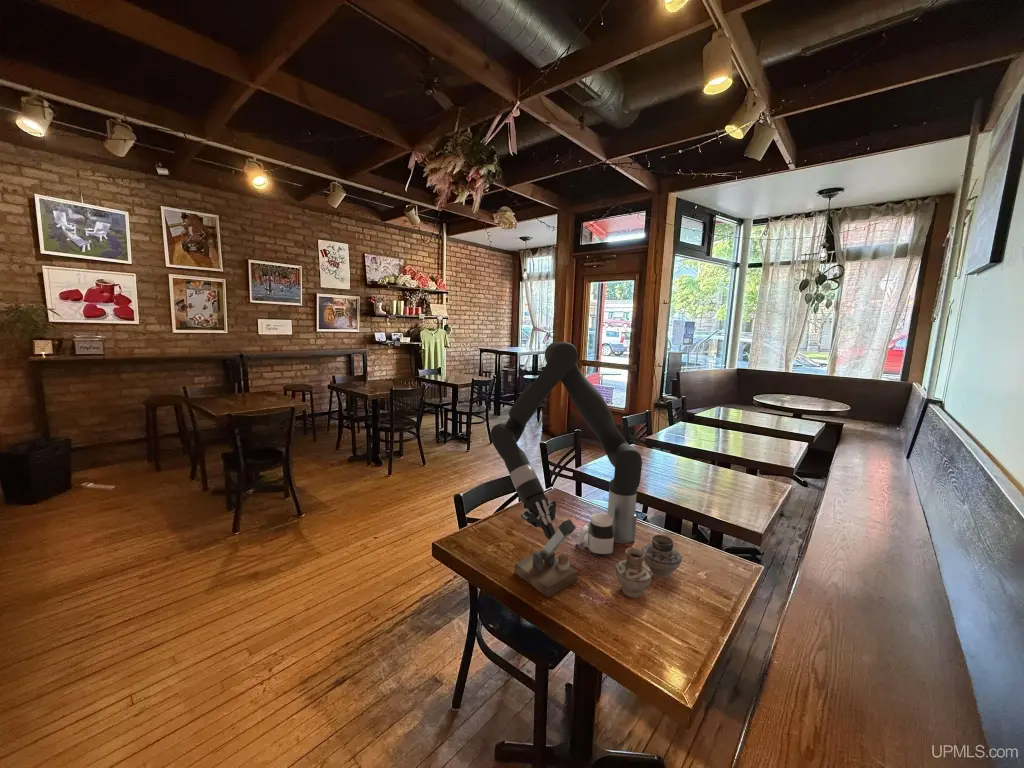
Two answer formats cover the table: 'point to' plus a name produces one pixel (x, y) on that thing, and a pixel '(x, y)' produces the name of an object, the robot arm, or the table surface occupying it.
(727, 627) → the table surface
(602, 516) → the spread jar
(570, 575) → the press base
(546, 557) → the lever
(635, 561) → the pottery
